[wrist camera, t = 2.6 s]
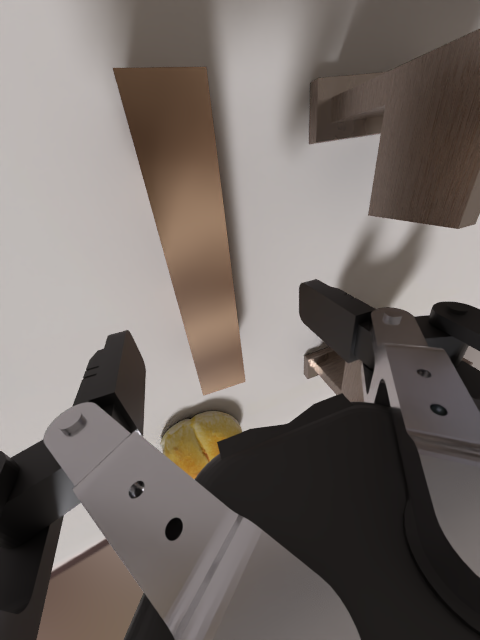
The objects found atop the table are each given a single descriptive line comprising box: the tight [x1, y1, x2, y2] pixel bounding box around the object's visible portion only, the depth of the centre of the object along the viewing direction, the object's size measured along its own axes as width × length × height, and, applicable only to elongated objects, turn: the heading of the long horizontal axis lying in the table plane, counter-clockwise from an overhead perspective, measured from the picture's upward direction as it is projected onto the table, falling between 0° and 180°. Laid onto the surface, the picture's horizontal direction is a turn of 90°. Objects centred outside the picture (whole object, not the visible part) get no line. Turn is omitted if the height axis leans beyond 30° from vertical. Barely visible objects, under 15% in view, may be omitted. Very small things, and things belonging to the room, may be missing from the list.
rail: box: [113, 67, 245, 396], centre depth 15 cm, size 18×4×4 cm, turn 6°
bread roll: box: [160, 411, 242, 479], centre depth 26 cm, size 8×9×4 cm
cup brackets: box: [304, 29, 480, 402], centre depth 17 cm, size 25×9×11 cm, turn 8°
